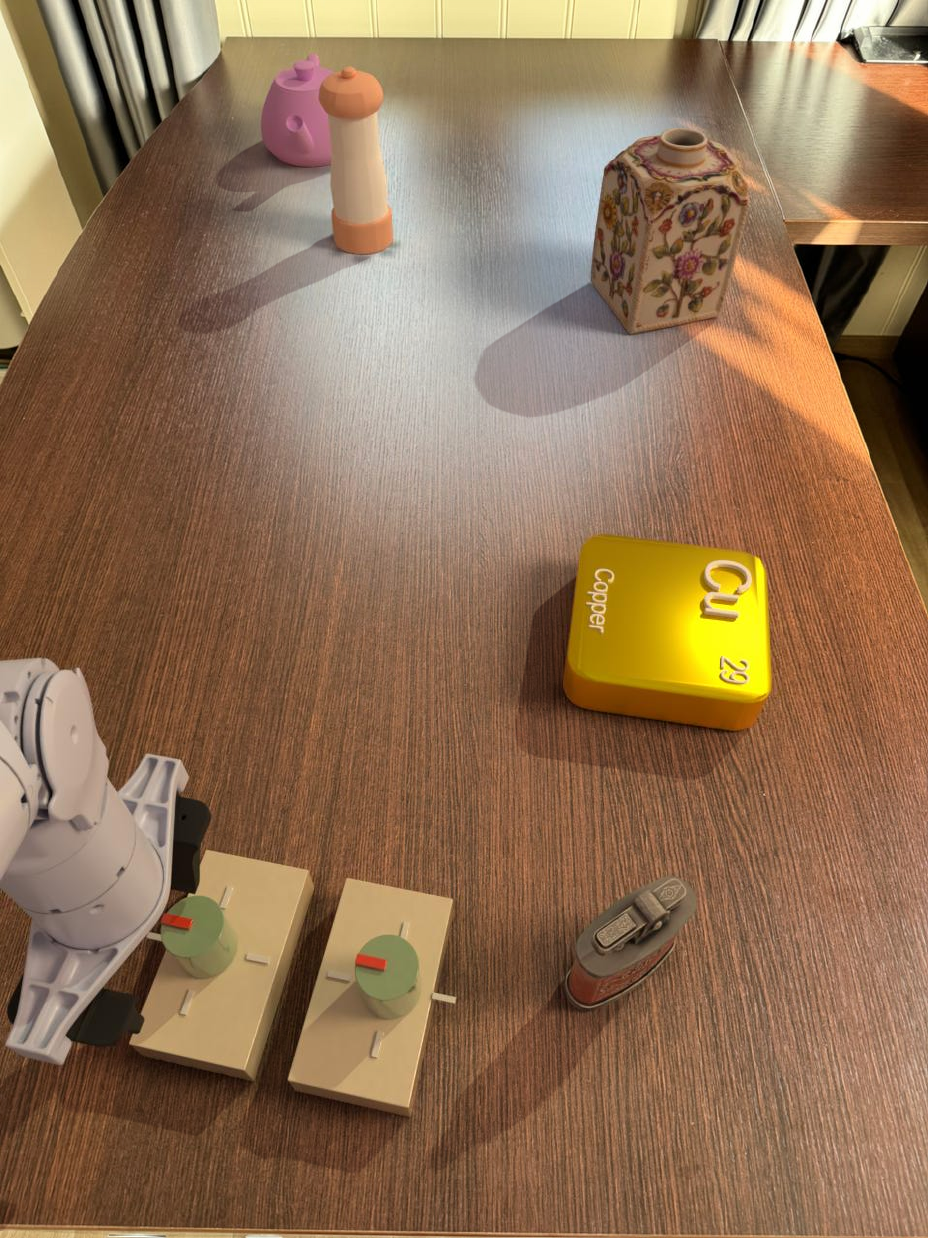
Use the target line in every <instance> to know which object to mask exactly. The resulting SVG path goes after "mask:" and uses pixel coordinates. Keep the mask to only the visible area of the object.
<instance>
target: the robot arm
mask: <svg viewBox="0 0 928 1238" xmlns="http://www.w3.org/2000/svg"><path fill="white" fill-rule="evenodd" d="M93 709H94V708H93V704H92V699H91V694H90V691H89V687H88V684H87V682H86V680H85V677H84V674H83V672H82V670H81V668H80V667H76V668H75V670H74V671H73V669H60V668H59V667H58V666H57V665H56V663H55V662H53V661H52V660H50V659H49V658H47V657H44V658H43V657H30V658H20V659H19V658H17V659H7V660H0V890H1V891H3V892H4V894H6V895H7V896H8V897H9V898H10V899H11V900H12V901H13V902H14V903H15V904H16V905H17V906H18V907H19V908H20V909H22V911H23V912H25V913H26V914H27V916H28V917H30V918H31V923H30V930H29V937H28V938H29V939H28V943H27V950H26V957H25V964H24V969H23V973H22V975H21V976H20V979H19V980H18V983H17V985H16V987H15V989H14V991H13V992H12V995H11V997H10V999H9V1001H8V1003H7V1006H6V1007H7V1009H6V1014H7V1015H6V1016H7V1019H8V1021H9V1023H10V1024H11V1025H12V1027H11V1030H10V1032H9V1034H8V1036H7V1039H6V1041H5V1043H4V1046H5V1047H6V1048H7V1049H9V1050H11V1051H13V1052H14V1053H16V1054H18V1055H19V1056H21V1057H23V1058H28V1059H32V1060H35V1061H39V1062H44V1063H49V1064H53V1065H56V1066H63V1065H64V1064H65V1061H66V1059H67V1056H68V1054H69V1052H70V1050H71V1048H72V1042H74V1043H78V1044H82V1045H86V1046H91V1047H96V1048H113V1047H117V1045H119V1042H120V1041H121V1039H122V1037H123V1035H124V1034H126V1033H128V1034H138V1033H140V1031H141V1028H142V1026H143V1023H144V1021H145V1019H144V1017H143V1016H142V1015H141V1012H139V1011H138V1010H137V1009H136V1007H135V1006H136V1003H137V1001H138V998H139V996H138V995H135V994H130V993H125V992H122V991H117V990H113V989H109V988H105V987H104V986H106V984H107V983H108V982H109V981H110V979H111V978H112V977H113V976H114V975H115V973H116V972H117V971H118V970H119V969H120V967H121V966H122V965H123V964H124V963H125V961H126V960H127V959H128V957H130V955H131V954H132V953H133V952H134V951H135V950H136V948H137V947H138V946H139V945H140V943H141V942H142V941H143V940H144V939H145V937H147V935H148V933H149V932H151V930H152V929H153V928H154V926H156V924H157V923H158V921H159V920H160V918H161V916H162V915H163V914H164V913H163V912H164V911H165V909H166V906H167V903H168V901H169V898H170V893H171V891H176V892H180V893H181V892H182V893H186V894H189V893H191V894H195V893H196V891H197V888H198V886H199V883H200V864H201V850H202V849H201V848H202V843H203V841H204V838H205V835H206V833H207V832H208V831H207V830H208V828H209V826H210V823H211V821H212V813H211V810H210V809H209V807H208V805H207V804H206V803H205V802H203V801H201V800H198V799H196V798H195V799H194V798H190V797H185V796H181V795H180V794H181V793H183V792H184V790H185V788H186V786H187V784H188V782H189V779H190V775H189V773H188V772H187V770H186V768H185V766H184V764H183V762H182V760H181V759H179V758H174V757H169V756H163V755H158V754H152V753H148V752H147V753H145V754H144V755H143V757H142V760H141V761H140V763H139V765H138V767H137V768H136V770H134V772H133V774H132V775H131V776H130V777H129V778H128V780H127V781H126V782H125V783H124V785H122V786H121V788H119V790H116V788H115V786H114V785H113V784H112V782H111V780H110V778H109V777H108V774H109V766H110V761H109V758H108V756H107V747H106V745H105V743H104V742H103V740H102V739H101V737H100V735H99V732H98V730H97V726H96V721H95V715H94V710H93Z"/></svg>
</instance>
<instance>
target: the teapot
mask: <svg viewBox="0 0 928 1238" xmlns="http://www.w3.org/2000/svg"><path fill="white" fill-rule="evenodd" d="M334 73H335V72H334V71H332V70H331V69H328V68H327V67H322V66H321V61H320V57H319V56H318V55H317V54H315V53H313V54H312V53H311V54H309V55H308V56H307V57H306V59H305V60H303V59H302V60H299V61H296V62H294V63H293V64H292V67H289V68H286V69H284V70H281V72H279V73H278V74H277V75H276V76H275V77H274V79H273V81H272V83H271V85H270V87H269V90H268V92H267V95H266V97H265V100H264V103H263V107H262V111H261V117H260V132H261V133H260V134H261V140H262V142H263V144H264V146H265V147H266V149H267V150H268V151H269V152H270V153H271V154H272V155H274V156H275V157H276V158H277V159H278V160H279V161H280V162H283V163H285V164H287V165H291V166H294V167H295V166H296V167H303V168H305V167H306V168H317V167H325V166H331V156H332V150H331V140H330V131H329V121H328V113H326V112H325V111H324V109H323V108H322V106H321V104H320V102H319V99H318V98H319V89H320V86H321V84H322V82H323V80H324V79H325V78H326V77H328V76H330V75H332V74H334Z"/></svg>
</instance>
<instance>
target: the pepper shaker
mask: <svg viewBox="0 0 928 1238" xmlns="http://www.w3.org/2000/svg"><path fill="white" fill-rule="evenodd" d="M333 73H334V74H332V75H330V76H328V77H326V78H325V79H324V80H323V82H322V84H321V86H320V89H319V98H318V99H319V102H320V104H321V106H322V108H323V109H324V111H325V112H326V113H328V121H329V131H330V140H331V150H332V156H331V165H330V192H331V199H332V206H333V208H332V209H331V215H330V217H331V224H332V225H331V226H332V235H333V241H334V244H335V245H336V248H339V249H340V250H341V251H344V252H346V253H349V254H355V255H370V254H376V253H378V252H381V251H383V250H386V249H387V248H388V247H389V246H391V245H392V243H393V241H394V230H393V216H392V215H393V213H392V207H391V206H390V204H388V203H389V202H388V200H389V199H388V179H387V174H386V170H385V169H386V168H385V165H384V161H383V156H382V151H381V146H380V134H379V119H378V111H379V110H380V108H381V106H382V104H383V100H384V91H383V88H382V85H381V84H380V83H379V81H378V80H377V78H376V77H375V76H374V75H372V74H370V73H368V72H364V71H362V70H359V69H358V70H357V69H355V67H353V66H345V67H343V68H342V69H341V70H340V71H337V72H336V71H335V72H333Z"/></svg>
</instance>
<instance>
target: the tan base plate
mask: <svg viewBox="0 0 928 1238" xmlns="http://www.w3.org/2000/svg"><path fill="white" fill-rule="evenodd" d="M314 891H315V885H314V882H313V880H312V876H311V873H310V871H309V869H305V868H301V867H295V866H290V865H286V864H281V863H275V862H270V861H265V860H260V859H256V858H249V857H245V856H241V855H235V854H229V853H225V852H220V851H216V850H209V849H205V851H204V854H203V856H202V859H201V860H200V883H199V886H198V888H197V891H196V893H195V894H191V893H187V896H186V898H187V897H190V896H206V897H209V898H211V899H213V900H214V901H216V902H217V903H218V904H219V906H220V907H221V909H222V910H223V912H224V914H225V915H226V917H227V919H228V921H229V922H230V924H231V926H232V927H233V929H234V931H235V933H236V935H237V941H238V946H237V952H236V955H235V957H234V959H233V961H232V962H231V964H230V965H229V966H228V967H227V968H226V969H225V970H224V971H223V972H221V973H220V974H218V975H216V976H213V977H210V978H195V977H192V976H190V975H189V974H187V973H186V972H185V971H184V970H183V969H182V968H181V966H180V965H179V964H178V963H177V962H176V960H175V959H174V958H173V957H172V955H171V954H170V953H169V952H168V950H167V949H166V948H165V951H164V954H163V957H162V959H161V962H160V964H159V967H158V969H157V971H156V975H155V977H154V979H153V982H152V984H151V987H150V990H149V992H148V994H147V997H146V999H145V1001H144V1004H143V1006H142V1009H141V1011H140V1014H141V1015H142V1016H143V1017H144V1019H145V1021H144V1023H143V1026H142V1028H141V1031H140V1033H138V1034H133V1033H131V1034H132V1035H131V1037H130V1040H129V1041H128V1045H129V1046H131V1047H132V1048H133V1049H134V1050H136V1051H137V1052H138V1053H139V1054H141V1055H142V1056H143V1057H146V1058H150V1059H155V1060H159V1061H164V1062H168V1063H171V1064H177V1065H182V1066H186V1067H191V1068H195V1069H198V1070H203V1071H208V1072H212V1073H216V1074H221V1075H225V1076H229V1077H233V1078H238V1079H243V1080H247V1081H251V1082H254V1081H255V1079H256V1076H257V1073H258V1070H259V1067H260V1064H261V1060H262V1057H263V1054H264V1051H265V1048H266V1044H267V1042H268V1038H269V1034H270V1032H271V1028H272V1025H273V1021H274V1019H275V1017H276V1016H275V1015H276V1012H277V1009H278V1006H279V1003H280V1001H281V1000H280V999H281V996H282V994H283V993H282V992H283V990H284V987H285V983H286V980H287V976H288V974H289V971H290V967H291V965H292V962H293V958H294V955H295V951H296V948H297V945H298V941H299V938H300V935H301V932H302V928H303V926H304V922H305V919H306V916H307V913H308V910H309V906H310V903H311V901H312V897H313V894H314ZM145 937H146V939H149V940H152V941H156V942H160V943H163V942H162V939H161V933H156V932H151V931H149V932H148V934H147V935H146V936H145Z"/></svg>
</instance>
